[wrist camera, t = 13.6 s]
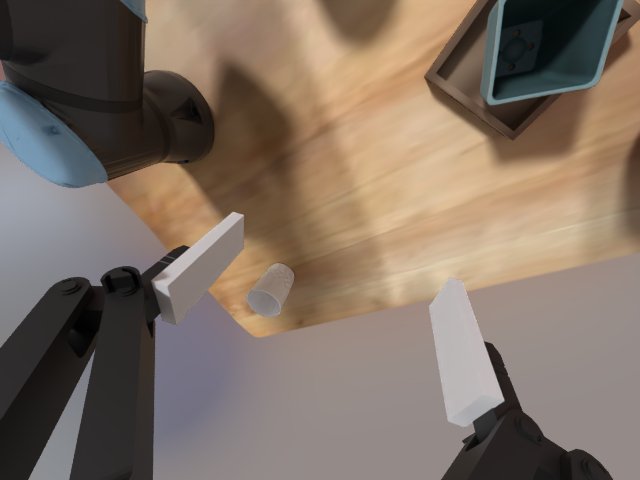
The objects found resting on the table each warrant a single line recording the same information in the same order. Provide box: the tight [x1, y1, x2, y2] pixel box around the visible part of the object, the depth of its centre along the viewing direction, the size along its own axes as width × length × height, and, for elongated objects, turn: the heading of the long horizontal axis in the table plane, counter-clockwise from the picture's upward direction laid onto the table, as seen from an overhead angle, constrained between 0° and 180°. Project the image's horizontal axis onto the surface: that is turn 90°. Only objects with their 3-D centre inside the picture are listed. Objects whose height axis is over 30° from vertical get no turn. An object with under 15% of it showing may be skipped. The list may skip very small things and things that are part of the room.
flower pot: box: [480, 0, 624, 105], centre depth 25 cm, size 9×9×9 cm
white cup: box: [246, 263, 294, 317], centre depth 56 cm, size 8×8×10 cm
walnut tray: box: [424, 0, 640, 140], centre depth 29 cm, size 14×14×3 cm
